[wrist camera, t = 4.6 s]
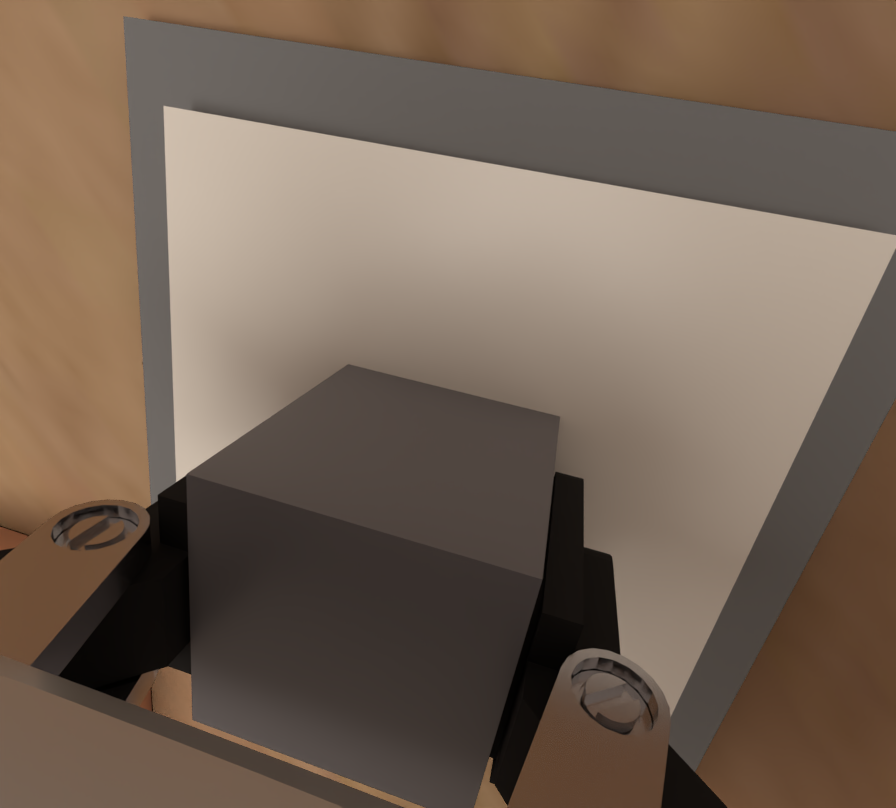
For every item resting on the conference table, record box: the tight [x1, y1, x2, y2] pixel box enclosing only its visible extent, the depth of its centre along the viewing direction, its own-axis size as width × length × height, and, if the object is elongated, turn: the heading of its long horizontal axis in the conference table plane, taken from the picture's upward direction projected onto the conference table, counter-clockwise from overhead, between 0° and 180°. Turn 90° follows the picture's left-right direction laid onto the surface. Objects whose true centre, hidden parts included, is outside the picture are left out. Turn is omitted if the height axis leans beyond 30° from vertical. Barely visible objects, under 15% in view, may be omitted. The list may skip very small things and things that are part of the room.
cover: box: [163, 106, 896, 808], centre depth 10 cm, size 13×13×6 cm
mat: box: [123, 16, 896, 772], centre depth 13 cm, size 16×16×1 cm
